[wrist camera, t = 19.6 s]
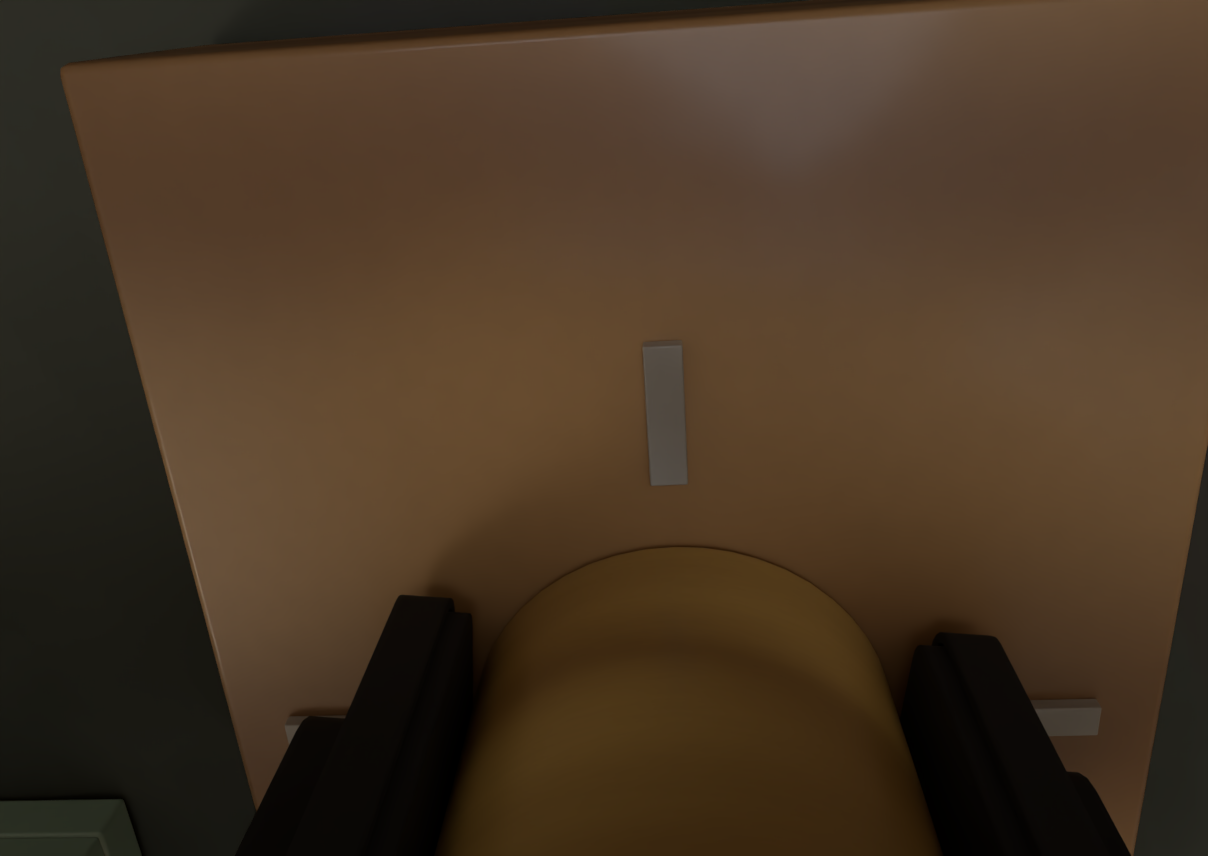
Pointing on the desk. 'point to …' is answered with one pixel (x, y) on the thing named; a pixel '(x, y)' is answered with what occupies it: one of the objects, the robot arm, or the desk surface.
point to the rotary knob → (684, 722)
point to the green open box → (67, 828)
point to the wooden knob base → (680, 328)
